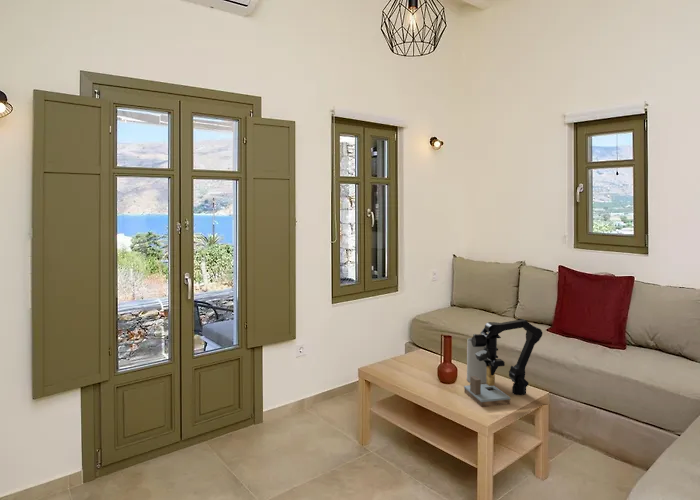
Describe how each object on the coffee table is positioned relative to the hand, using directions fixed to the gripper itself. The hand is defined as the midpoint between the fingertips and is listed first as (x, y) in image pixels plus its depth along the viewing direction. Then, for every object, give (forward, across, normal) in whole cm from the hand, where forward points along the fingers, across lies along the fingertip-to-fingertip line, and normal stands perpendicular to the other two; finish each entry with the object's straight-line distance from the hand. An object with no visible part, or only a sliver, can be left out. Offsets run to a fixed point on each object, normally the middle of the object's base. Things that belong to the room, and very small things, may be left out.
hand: (490, 373), depth 260 cm
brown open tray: (+13, +3, -4) cm, 14 cm away
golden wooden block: (+6, 0, 0) cm, 6 cm away
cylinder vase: (+13, -23, +4) cm, 27 cm away
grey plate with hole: (+9, +3, -4) cm, 11 cm away
